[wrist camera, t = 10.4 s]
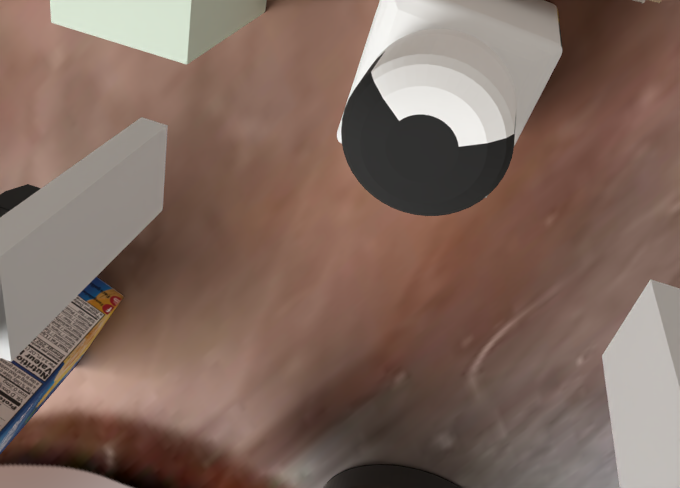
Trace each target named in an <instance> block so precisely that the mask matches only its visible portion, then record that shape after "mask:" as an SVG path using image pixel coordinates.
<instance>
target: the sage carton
mask: <svg viewBox="0 0 680 488" xmlns="http://www.w3.org/2000/svg"><path fill="white" fill-rule="evenodd" d="M266 1H267V0H50V9H51V23H54V24H58V25H61V26H64V27H67V28H71V29H74V30H77V31H80V32H83V33H87V34H90V35H93V36H96V37H100V38H103V39H106V40H109V41H113V42H116V43H119V44H122V45H125V46H129V47H132V48H135V49H138V50H142V51H145V52H148V53H151V54H155V55H158V56H161V57H164V58H167V59H171V60H174V61H177V62H180V63H184V64H189V63H190V62H191V61H193V60H194V59H196V58H197V57H199V56H200V55H202V54H203V53H205V52H206V51H208V50H209V49H211V48H212V47H214V46H215V45H217V44H218V43H220V42H221V41H223V40H224V39H226V38H227V37H229V36H230V35H232V34H233V33H235V32H236V31H238V30H239V29H241V28H242V27H244V26H245V25H247V24H248V23H250V22H251V21H253V20H254V19H256V18H257V17H259V16H260V15H262V14H263V13H265V9H266Z"/></svg>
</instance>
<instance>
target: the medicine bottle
mask: <svg viewBox="0 0 680 488" xmlns="http://www.w3.org/2000/svg"><path fill="white" fill-rule="evenodd" d="M562 50H563V49H562V41H561V32H560V24H559V15H558V9H557V6H555V5H554V4H553V3H550V2H547V1H545V0H380V1H379V5H378V8H377V11H376V14H375V17H374V20H373V23H372V26H371V29H370V32H369V35H368V39H367V42H366V45H365V48H364V51H363V54H362V57H361V60H360V63H359V66H358V69H357V73H356V76H355V79H354V82H353V85H352V88H351V91H350V94H349V97H348V100H347V103H346V107H345V110H344V113H343V116H342V119H341V122H340V125H339V128H338V131H337V139H338V141H339V142H340V143H342V145H343V151H344V154H345V157H346V160H347V163H348V165H349V167H350V169H351V171H352V173H353V174H354V175H355V177H356V178H357V180H358V181H359V182H360V184H361V185H362V186H363V187H364V188H365V189H366V190H367V191H368V192H369V193H370V194H372V195H373V196H374V197H375V198H377V199H378V200H380V201H381V202H383V203H384V204H386V205H388V206H390V207H392V208H394V209H397V210H400V211H403V212H406V213H410V214H415V215H423V216H439V215H446V214H451V213H455V212H459V211H461V210H464V209H466V208H469V207H471V206H473V205H474V204H476V203H478V202H480V201H481V200H482V199H483V198H485V197H487V196H488V195H489V194H490V193H491V192H492V191H493V190H494V189H495V187H496V186H497V185H498V184H499V182H500V181H501V180H502V178H503V177H504V175H505V173H506V171H507V169H508V167H509V164H510V161H511V158H512V154H513V148H514V145H515V144H516V142H517V140H518V138H519V136H520V134H521V132H522V130H523V128H524V126H525V124H526V122H527V120H528V118H529V117H530V115H531V113H532V111H533V109H534V107H535V105H536V103H537V101H538V99H539V97H540V95H541V93H542V92H543V90H544V88H545V86H546V84H547V82H548V80H549V78H550V76H551V74H552V72H553V70H554V68H555V67H556V65H557V63H558V61H559V59H560V57H561V55H562Z"/></svg>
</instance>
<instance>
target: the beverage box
mask: <svg viewBox="0 0 680 488" xmlns="http://www.w3.org/2000/svg"><path fill="white" fill-rule="evenodd" d="M123 297H124V296H123V295H122V294H120V293H119V292H117V291H116V290H115V289H113V288H112V287H110V286H109V285H108V284H106V283H105V282H103V281H102V280H101V279H99V278H98V277H95V278H94V279H93V280H92V281H91V282H90V283H89V284H88V285H87V286H86V287H85V288H84V289H83V290H82V291H81V292H80V293H79V294H78V295H77V296H76V297H75V298H74V299H73V301H72V302H71V303H70V304H69V305H68V306H67V307H66V308H65V309H64V310H63V311H62V312H61V313H60V314H59V315H58V316H57V317H56V318H55V319H54V320H53V321H52V322H51V323H50V324H49V325H48V326H47V327H46V328H45V329H44V330H43V331H42V332H41V333H40V334H39V335H38V336H37V337H36V338H35V339H34V340H33V341H32V342H31V343H30V344H29V345H28V346H27V347H26V348H25V349H24V350H23V351H22V352H21V353H20V354H19V355H18V356H17V357H16V358H15V359H14V360H13V361H12V362H10V361H7V360H5V359H2V358H0V454H1V453H2V451H3V450H4V449H5V448H6V447H7V446H8V444H9V443H10V442H11V441H12V440H13V439H14V437H15V436H16V435H17V434H18V433H19V432H20V430H21V429H22V428H23V427H24V426H25V425H26V423H27V422H28V421H29V420H30V419H31V418H32V416H33V415H34V414H35V413H36V412H37V411H38V409H39V408H40V407H41V406H42V405H43V404H44V402H45V401H46V400H47V399H48V398H49V397H50V396H51V394H52V393H53V392H54V391H55V390H56V389H57V387H58V386H59V385H60V384H61V383H62V382H63V380H64V379H65V378H66V377H67V376H68V375H69V373H70V372H71V371H72V370H73V369H74V368H75V366H76V365H77V363H78V362H79V360H80V359H81V358H82V356H83V355H84V353H85V352H86V350H87V349H88V348H89V346H90V345H91V343H92V342H93V340H94V339H95V338H96V336H97V335H98V333H99V332H100V330H101V329H102V328H103V326H104V325H105V323H106V322H107V320H108V319H109V317H110V316H111V315H112V313H113V312H114V310H115V309H116V307H117V306H118V305H119V303H120V302H121V300H122V299H123Z"/></svg>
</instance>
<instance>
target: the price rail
mask: <svg viewBox="0 0 680 488" xmlns="http://www.w3.org/2000/svg"><path fill="white" fill-rule="evenodd" d="M634 1H637V2H641V3H644V2H645V0H634ZM649 1H653V2H657V3H660V2H661V0H649Z"/></svg>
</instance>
